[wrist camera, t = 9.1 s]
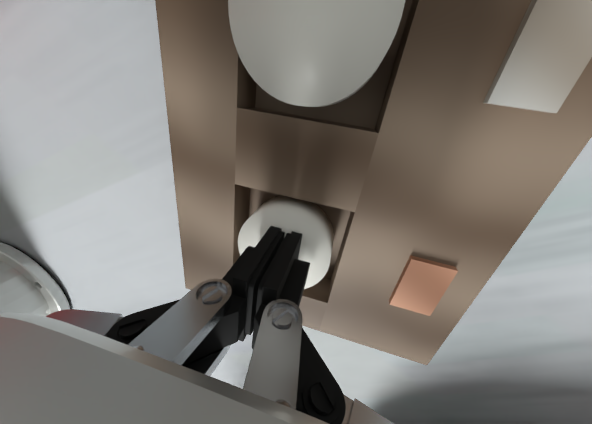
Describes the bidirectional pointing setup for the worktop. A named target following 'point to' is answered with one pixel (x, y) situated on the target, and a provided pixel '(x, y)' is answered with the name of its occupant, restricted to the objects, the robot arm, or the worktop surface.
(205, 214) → the button board
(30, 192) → the worktop surface
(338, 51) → the middle button
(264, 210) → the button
